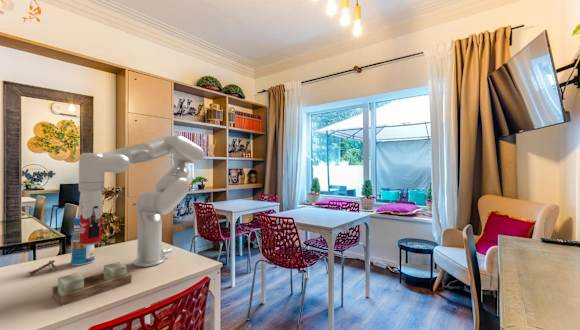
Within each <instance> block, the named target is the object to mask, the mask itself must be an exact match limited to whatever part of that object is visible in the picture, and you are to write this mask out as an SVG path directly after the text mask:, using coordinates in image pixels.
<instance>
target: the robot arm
mask: <svg viewBox="0 0 580 330" xmlns="http://www.w3.org/2000/svg"><path fill="white" fill-rule="evenodd" d="M170 154H171V155H172V154H173V165H172V167H171V168H170V169H169V171H167V172H166V173H165V174H164V175H163V176H162V177H161V178H160V179H158V181H157V182H156V185H155V190H156V191H154V190H153V191H151V190H146V191H143V192H141V193H139V194H138V196H137V197H136V199H135V211H136V214H137V215H136V216H137V245H136V246H137V251H136V252H137V254H136V255H137V256H136V258H135V259H134V260H133V262H132V264H133V266H135V267H138V268H144V267H145V268H148V267H152V266H158V265H160V264H162V263H164V261H166V257H165V255H167V254H171V253H172V252H173V251H172V248H162V241H163V240H162V234H163V232H162V230H163V229H162V228H163V220H162V219H163V218H162V216H163V215H167V214H169V213H171V212H172V211H173V210H174V209H175V208H176V207H177V206H178V205H179V204H180V203H181V202H182V200H184V199H185V197H186V196H187V194H188V193H189V190H190V182H189V180H188V179H187V178H188V177H189V175H190V174H189V173H190V172H189V164H199V163H201V162H202V161H204V159H205V152H204V150H203V148H202V147H201V146H199V145H197V144H196V143H194V142H193V141H191V140H190V139H188V138H186V137H185V136H181V135H165V136H161V137H158V138H154V139H152V140H151V139H150V140H148V141H144V142H141V143H136V144H133V145H130V146H125V147H122V148H117V149H113V150H110V151H106V152H103V153H98V152H95V153H94V152H83V153H81V154H80V155H79V159H78V164H79V165H78V192H80V193H79V201H78V203H79V204H78V217H80V215H81V214H82V216H83V218H84V219H88V218H89V226H90V227H88V238H95V237H99V226H100V223H99V222H100V217H101V218H102V216H103V194H102V192H104V191H105V175H106V174H105V173H113V174H120V173H123V172H125V171H127V170H128V169H129V168H130V166H131V165H132V164H140V163H141V164H142V163H147V162H152V161H154V160H157V159H159V158H162V157H165V156H167V155H170ZM91 216H94V218H91ZM92 220H93V221H92Z"/></svg>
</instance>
